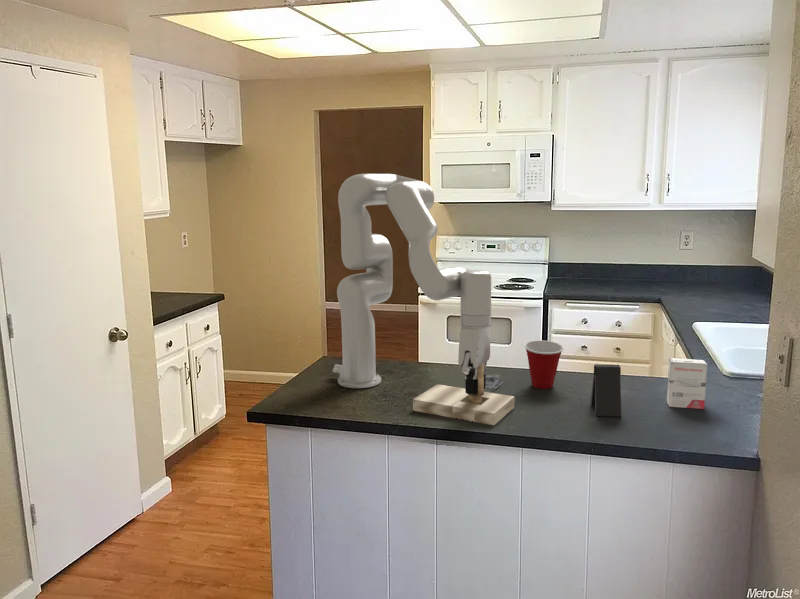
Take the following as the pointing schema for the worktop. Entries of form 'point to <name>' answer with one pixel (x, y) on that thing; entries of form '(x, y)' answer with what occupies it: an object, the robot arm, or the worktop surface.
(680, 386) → the ink box
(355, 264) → the robot arm
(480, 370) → the peg
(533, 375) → the plastic cup
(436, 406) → the board
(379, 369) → the worktop surface
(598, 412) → the phone stand
